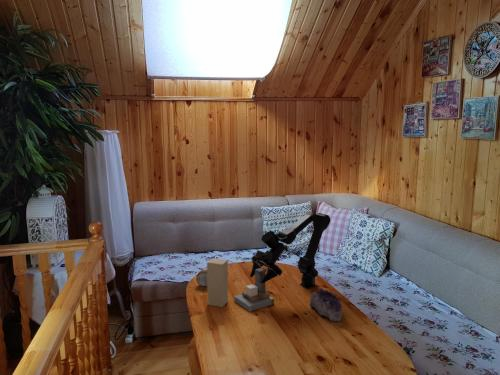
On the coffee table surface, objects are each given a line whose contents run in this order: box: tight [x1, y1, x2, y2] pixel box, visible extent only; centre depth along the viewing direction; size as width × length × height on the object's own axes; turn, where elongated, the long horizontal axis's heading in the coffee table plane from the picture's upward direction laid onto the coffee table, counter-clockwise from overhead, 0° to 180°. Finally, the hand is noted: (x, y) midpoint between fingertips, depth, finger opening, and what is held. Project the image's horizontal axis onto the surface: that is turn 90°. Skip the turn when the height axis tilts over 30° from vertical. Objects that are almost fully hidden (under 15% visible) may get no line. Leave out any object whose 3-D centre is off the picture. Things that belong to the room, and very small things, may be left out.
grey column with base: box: [241, 267, 271, 303], centre depth 194 cm, size 10×9×13 cm
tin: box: [195, 269, 207, 288], centre depth 213 cm, size 15×3×8 cm, turn 84°
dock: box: [233, 293, 275, 312], centre depth 194 cm, size 14×13×3 cm
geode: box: [309, 288, 343, 323], centre depth 184 cm, size 20×12×10 cm, turn 20°
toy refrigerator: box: [206, 257, 229, 308], centre depth 193 cm, size 8×7×21 cm
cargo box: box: [245, 283, 258, 297], centre depth 193 cm, size 4×4×4 cm
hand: (256, 279), depth 194 cm, fingers open, 9 cm apart
